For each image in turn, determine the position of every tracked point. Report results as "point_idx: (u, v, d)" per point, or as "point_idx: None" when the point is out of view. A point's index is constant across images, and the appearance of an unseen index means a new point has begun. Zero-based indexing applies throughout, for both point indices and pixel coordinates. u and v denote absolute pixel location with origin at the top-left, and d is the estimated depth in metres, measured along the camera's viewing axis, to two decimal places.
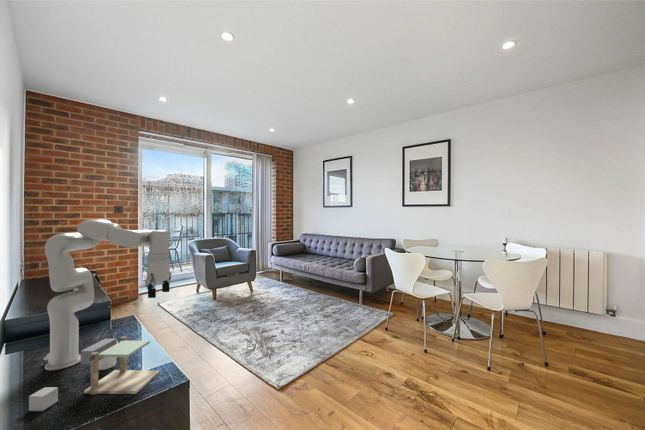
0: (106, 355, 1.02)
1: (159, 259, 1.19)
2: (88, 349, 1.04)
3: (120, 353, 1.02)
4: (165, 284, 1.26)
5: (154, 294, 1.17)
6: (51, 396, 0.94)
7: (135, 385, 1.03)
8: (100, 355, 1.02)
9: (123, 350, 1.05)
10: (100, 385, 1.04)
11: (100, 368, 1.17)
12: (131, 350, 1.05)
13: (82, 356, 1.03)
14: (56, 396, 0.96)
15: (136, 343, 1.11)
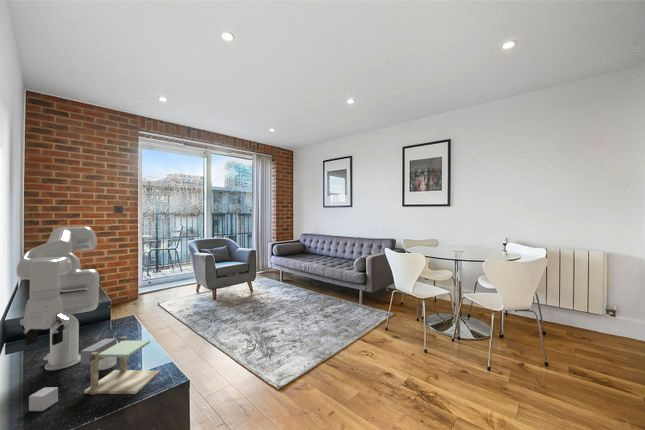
0: (106, 355, 1.02)
1: (59, 294, 0.97)
2: (88, 349, 1.04)
3: (120, 353, 1.02)
4: (32, 333, 0.95)
5: None
6: (51, 396, 0.94)
7: (135, 385, 1.03)
8: (100, 355, 1.02)
9: (123, 350, 1.05)
10: (100, 385, 1.04)
11: (100, 368, 1.17)
12: (131, 350, 1.05)
13: (82, 356, 1.03)
14: (56, 396, 0.96)
15: (136, 343, 1.11)
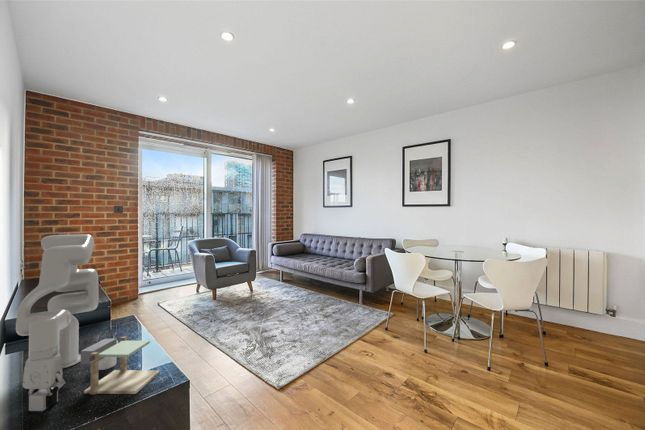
0: (106, 355, 1.02)
1: (58, 351, 0.96)
2: (88, 349, 1.04)
3: (120, 353, 1.02)
4: None
5: None
6: None
7: (135, 385, 1.03)
8: (100, 355, 1.02)
9: (123, 350, 1.05)
10: (100, 385, 1.04)
11: (100, 368, 1.17)
12: (131, 350, 1.05)
13: (82, 356, 1.03)
14: None
15: (136, 343, 1.11)
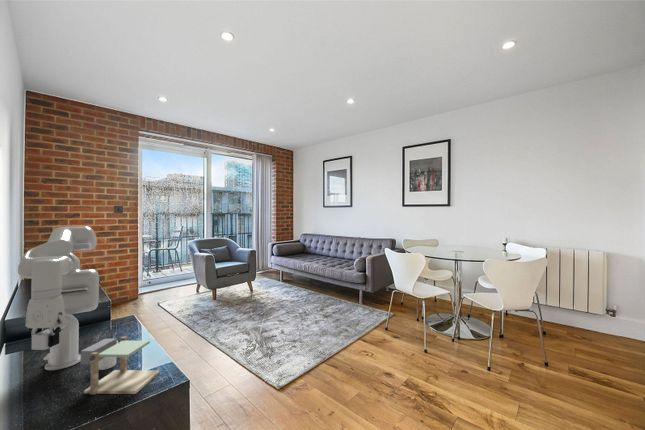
0: (106, 355, 1.02)
1: (61, 294, 0.97)
2: (88, 349, 1.04)
3: (120, 353, 1.02)
4: None
5: None
6: None
7: (135, 385, 1.03)
8: (100, 355, 1.02)
9: (123, 350, 1.05)
10: (100, 385, 1.04)
11: (100, 368, 1.17)
12: (131, 350, 1.05)
13: (82, 356, 1.03)
14: None
15: (136, 343, 1.11)
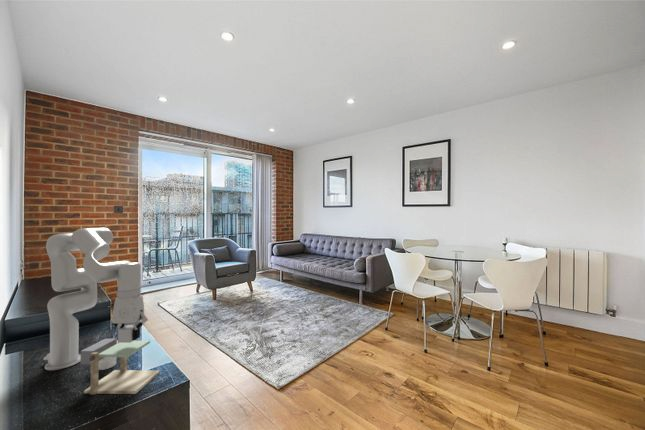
0: (106, 355, 1.02)
1: (140, 293, 1.10)
2: (88, 349, 1.04)
3: (120, 353, 1.02)
4: None
5: None
6: None
7: (135, 385, 1.03)
8: (100, 355, 1.02)
9: (123, 350, 1.05)
10: (100, 385, 1.04)
11: (100, 368, 1.17)
12: (131, 350, 1.05)
13: (82, 356, 1.03)
14: None
15: (136, 343, 1.11)
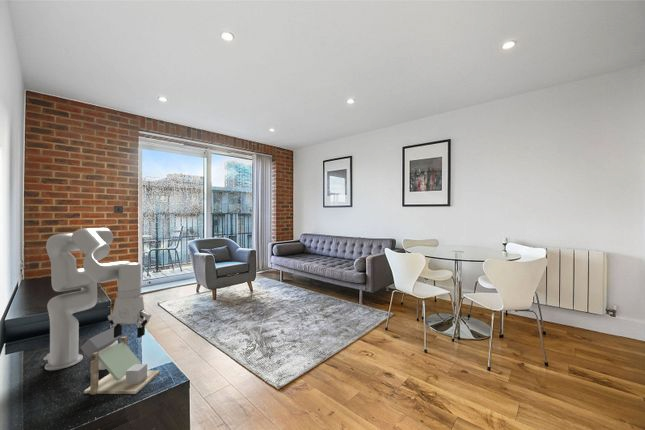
0: (103, 362, 1.02)
1: (140, 293, 1.10)
2: (95, 339, 1.04)
3: (114, 370, 1.02)
4: (118, 327, 1.08)
5: None
6: None
7: (135, 385, 1.03)
8: (99, 358, 1.02)
9: (118, 366, 1.05)
10: (100, 385, 1.04)
11: (100, 368, 1.17)
12: (123, 372, 1.04)
13: (86, 343, 1.03)
14: None
15: (130, 358, 1.11)
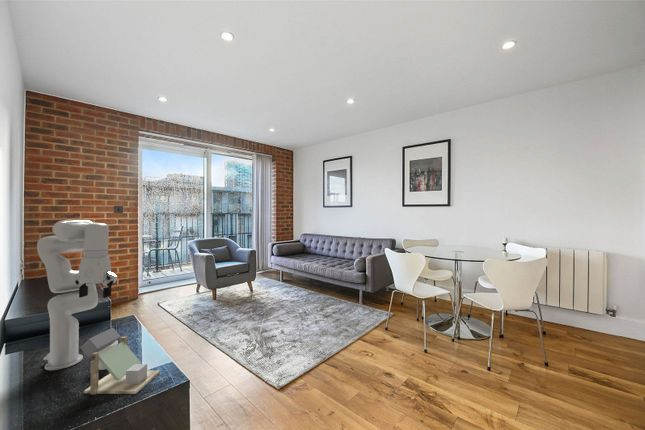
0: (103, 362, 1.02)
1: (107, 255, 1.10)
2: (95, 339, 1.04)
3: (114, 370, 1.02)
4: (84, 287, 1.07)
5: None
6: None
7: (135, 385, 1.03)
8: (99, 358, 1.02)
9: (118, 366, 1.05)
10: (100, 385, 1.04)
11: (100, 368, 1.17)
12: (123, 372, 1.04)
13: (86, 343, 1.03)
14: None
15: (130, 358, 1.11)
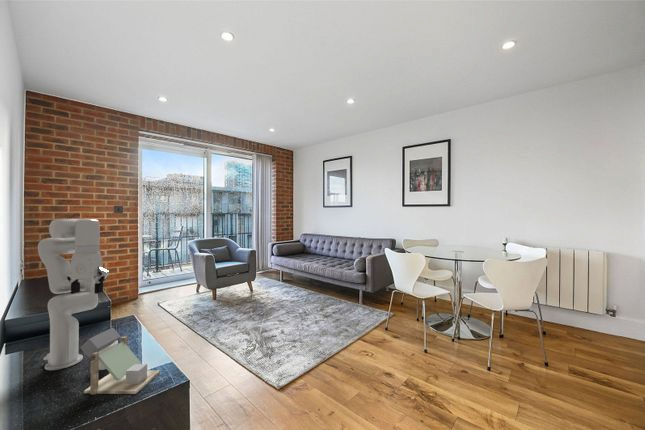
0: (103, 362, 1.02)
1: (99, 251, 1.09)
2: (95, 339, 1.04)
3: (114, 370, 1.02)
4: (76, 283, 1.07)
5: None
6: None
7: (135, 385, 1.03)
8: (99, 358, 1.02)
9: (118, 366, 1.05)
10: (100, 385, 1.04)
11: (100, 368, 1.17)
12: (123, 372, 1.04)
13: (86, 343, 1.03)
14: None
15: (130, 358, 1.11)
